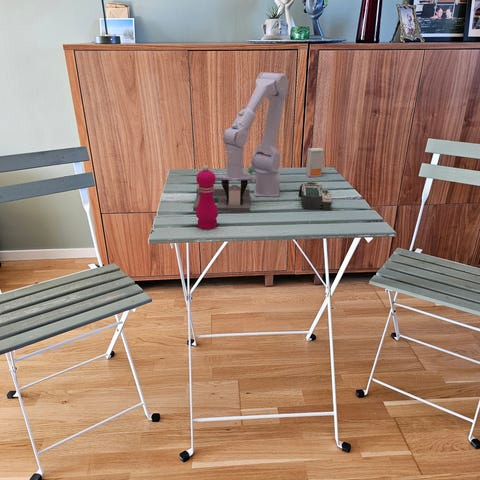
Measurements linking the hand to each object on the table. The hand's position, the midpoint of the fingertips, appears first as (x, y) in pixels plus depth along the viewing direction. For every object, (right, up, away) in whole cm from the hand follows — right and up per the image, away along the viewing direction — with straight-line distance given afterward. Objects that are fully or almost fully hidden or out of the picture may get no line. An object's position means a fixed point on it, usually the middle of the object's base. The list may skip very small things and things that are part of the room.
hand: (234, 200), depth 147 cm
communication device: (+30, +1, +9) cm, 31 cm away
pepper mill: (-9, -10, -15) cm, 20 cm away
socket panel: (-4, -1, +3) cm, 5 cm away
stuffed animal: (+8, +12, +30) cm, 33 cm away
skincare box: (+35, +14, +34) cm, 51 cm away
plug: (0, -2, +1) cm, 2 cm away
